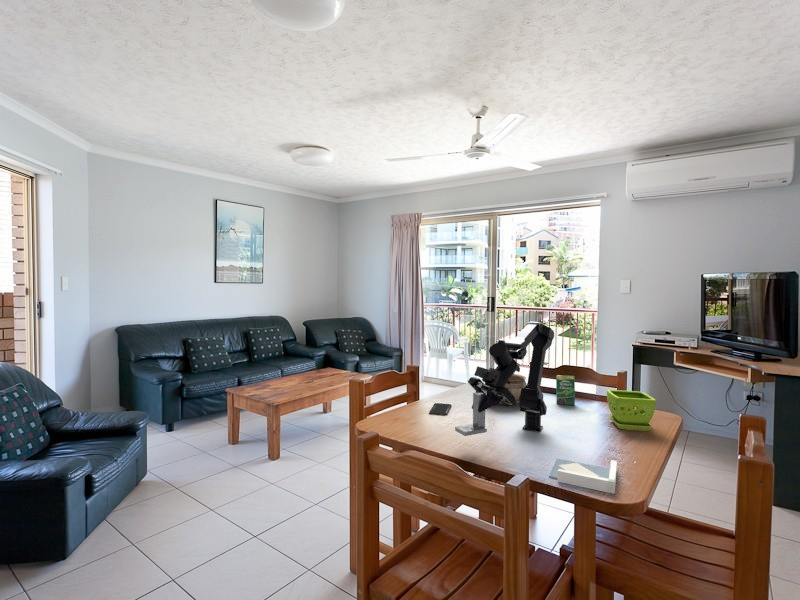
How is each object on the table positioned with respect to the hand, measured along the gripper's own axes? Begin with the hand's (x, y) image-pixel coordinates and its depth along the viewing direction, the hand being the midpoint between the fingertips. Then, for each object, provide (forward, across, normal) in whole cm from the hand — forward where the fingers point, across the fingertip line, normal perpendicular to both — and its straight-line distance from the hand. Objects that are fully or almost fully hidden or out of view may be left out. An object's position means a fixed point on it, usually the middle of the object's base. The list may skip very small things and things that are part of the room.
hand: (475, 410), depth 136 cm
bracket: (+6, 0, +3) cm, 7 cm away
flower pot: (-38, +6, +58) cm, 70 cm away
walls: (-3, +29, +22) cm, 36 cm away
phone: (0, -44, +20) cm, 49 cm away
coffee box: (-40, -28, +60) cm, 77 cm away
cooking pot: (-24, -41, +43) cm, 64 cm away
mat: (-3, +27, +22) cm, 34 cm away
